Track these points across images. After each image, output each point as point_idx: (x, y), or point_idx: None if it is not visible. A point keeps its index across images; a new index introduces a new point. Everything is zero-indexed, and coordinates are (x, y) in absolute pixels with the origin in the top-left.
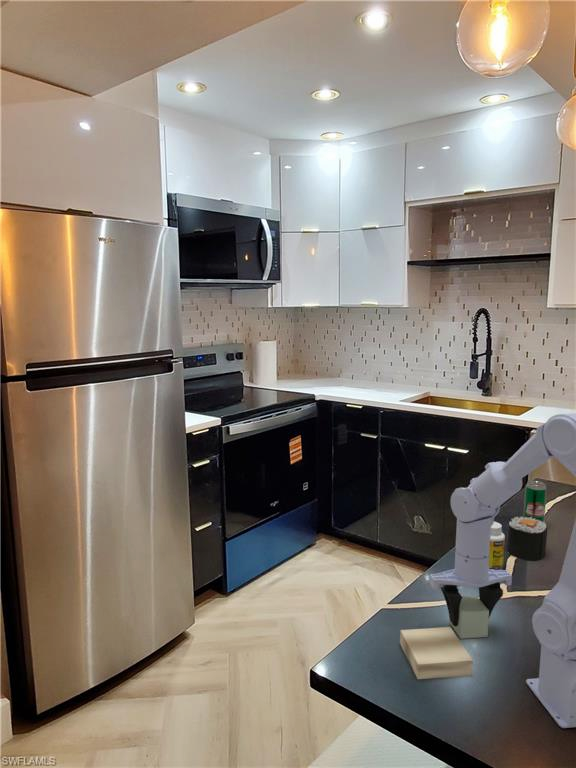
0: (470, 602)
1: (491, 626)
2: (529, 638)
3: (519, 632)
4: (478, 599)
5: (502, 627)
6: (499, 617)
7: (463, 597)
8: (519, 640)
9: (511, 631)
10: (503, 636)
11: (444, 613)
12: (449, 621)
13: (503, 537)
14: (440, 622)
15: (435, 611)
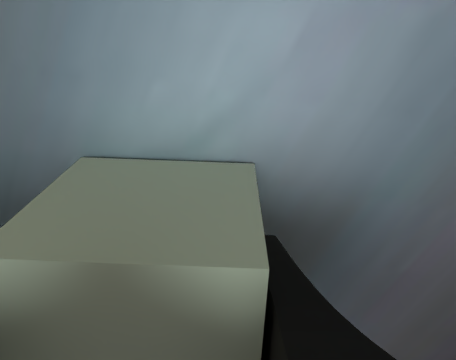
0: (148, 355)
1: (324, 218)
2: (451, 325)
3: (440, 282)
4: (253, 325)
5: (381, 234)
6: (437, 142)
7: (109, 281)
8: (390, 330)
9: (404, 270)
10: (333, 297)
11: (82, 42)
12: (79, 160)
13: None
14: (28, 140)
15: (20, 5)
